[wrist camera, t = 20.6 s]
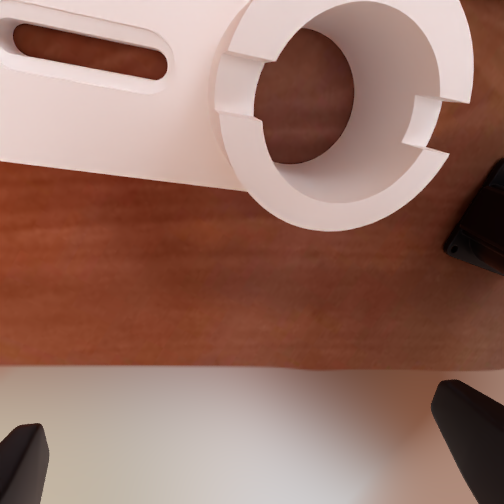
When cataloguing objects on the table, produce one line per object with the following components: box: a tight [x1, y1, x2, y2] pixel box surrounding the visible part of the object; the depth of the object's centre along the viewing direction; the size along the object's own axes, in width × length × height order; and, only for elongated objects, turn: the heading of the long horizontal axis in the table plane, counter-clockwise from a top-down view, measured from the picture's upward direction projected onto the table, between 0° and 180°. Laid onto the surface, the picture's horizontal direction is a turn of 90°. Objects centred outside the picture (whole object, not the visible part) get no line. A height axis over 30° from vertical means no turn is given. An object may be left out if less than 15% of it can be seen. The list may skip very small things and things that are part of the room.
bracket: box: [0, 0, 474, 231], centre depth 14 cm, size 20×9×7 cm, turn 80°
